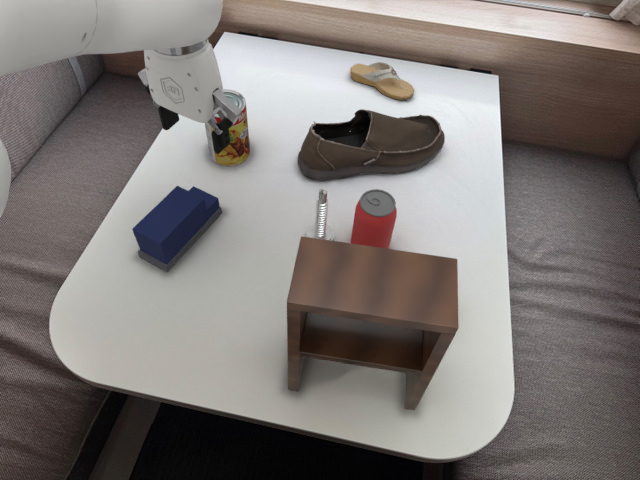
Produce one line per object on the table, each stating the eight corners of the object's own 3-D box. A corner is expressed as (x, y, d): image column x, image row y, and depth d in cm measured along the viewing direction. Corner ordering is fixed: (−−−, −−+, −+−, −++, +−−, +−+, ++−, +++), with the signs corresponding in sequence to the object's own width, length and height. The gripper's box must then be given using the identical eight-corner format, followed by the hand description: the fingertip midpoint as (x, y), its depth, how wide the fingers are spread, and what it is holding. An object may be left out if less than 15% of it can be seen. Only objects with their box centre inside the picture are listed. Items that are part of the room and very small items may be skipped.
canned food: (256, 159, 102) (252, 110, 92) (217, 171, 99) (209, 121, 90) (241, 134, 106) (236, 85, 96) (204, 145, 103) (195, 95, 94)
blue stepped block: (167, 272, 85) (158, 246, 79) (139, 257, 86) (128, 230, 81) (222, 212, 93) (218, 185, 87) (195, 199, 94) (189, 172, 89)
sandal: (408, 104, 114) (412, 85, 110) (343, 83, 118) (345, 64, 114) (418, 88, 118) (422, 68, 114) (355, 68, 122) (357, 49, 118)
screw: (337, 249, 89) (309, 254, 88) (329, 228, 92) (302, 233, 91) (343, 198, 79) (312, 203, 78) (334, 176, 82) (304, 180, 81)
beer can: (362, 227, 92) (371, 180, 83) (394, 245, 90) (407, 199, 81) (342, 251, 89) (348, 204, 79) (374, 270, 87) (385, 225, 77)
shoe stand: (287, 390, 73) (286, 302, 54) (298, 333, 79) (301, 235, 60) (414, 410, 72) (458, 328, 53) (417, 351, 78) (457, 258, 59)
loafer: (451, 163, 103) (466, 120, 95) (310, 196, 96) (312, 154, 88) (426, 128, 109) (438, 85, 101) (292, 157, 102) (292, 114, 94)
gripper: (104, 25, 66) (136, 129, 80) (214, 69, 61) (228, 172, 75) (144, 0, 70) (168, 103, 84) (250, 40, 66) (257, 143, 79)
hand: (196, 136), depth 79 cm, fingers open, 9 cm apart
